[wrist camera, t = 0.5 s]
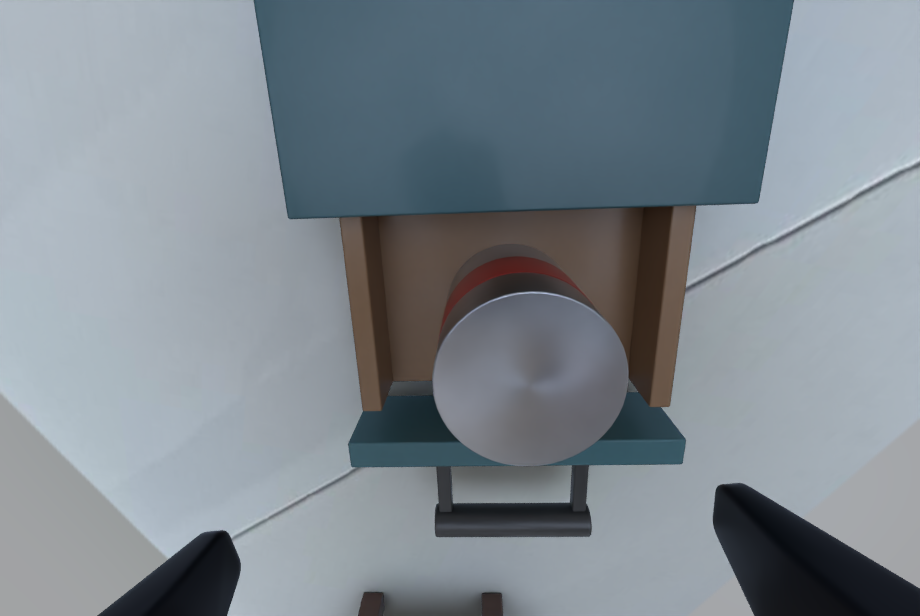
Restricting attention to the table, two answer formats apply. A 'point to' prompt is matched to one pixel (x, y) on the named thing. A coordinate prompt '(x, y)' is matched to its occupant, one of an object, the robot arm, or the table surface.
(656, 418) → the drawer
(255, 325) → the table surface
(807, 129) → the table surface
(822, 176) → the table surface
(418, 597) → the table surface
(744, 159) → the cabinet
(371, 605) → the stool
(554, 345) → the can
